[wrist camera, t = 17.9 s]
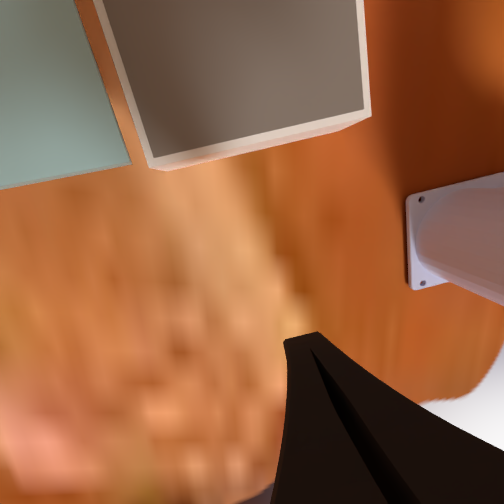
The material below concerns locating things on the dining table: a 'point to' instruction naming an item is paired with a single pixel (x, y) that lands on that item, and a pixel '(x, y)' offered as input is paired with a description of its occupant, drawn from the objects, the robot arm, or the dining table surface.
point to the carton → (236, 73)
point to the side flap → (52, 97)
